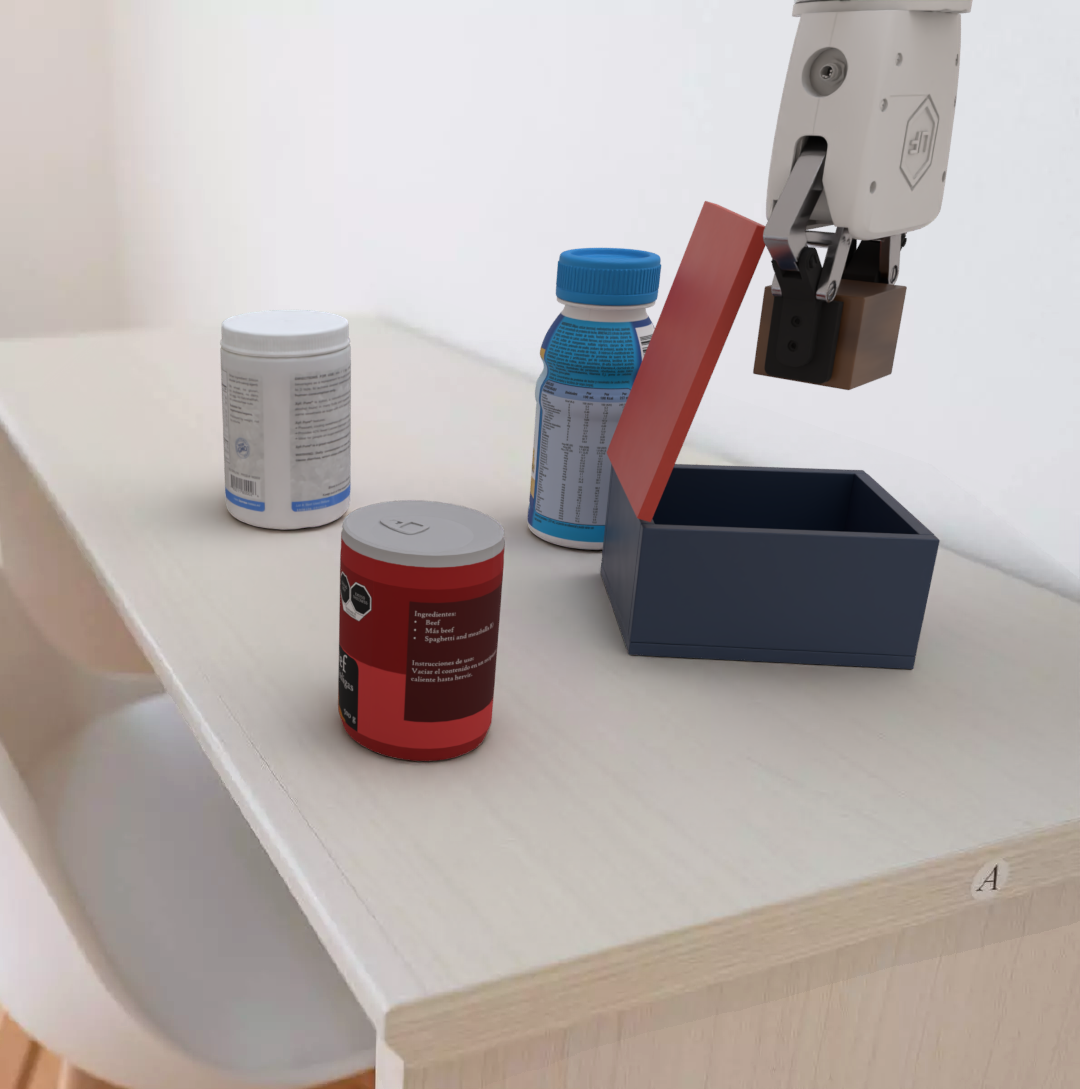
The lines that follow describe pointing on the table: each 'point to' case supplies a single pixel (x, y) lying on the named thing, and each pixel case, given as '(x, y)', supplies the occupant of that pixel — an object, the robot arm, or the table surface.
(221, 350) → the supplement tub
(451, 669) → the canned food
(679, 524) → the storage box
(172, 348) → the table surface
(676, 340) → the lid
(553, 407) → the beverage bottle
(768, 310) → the block
